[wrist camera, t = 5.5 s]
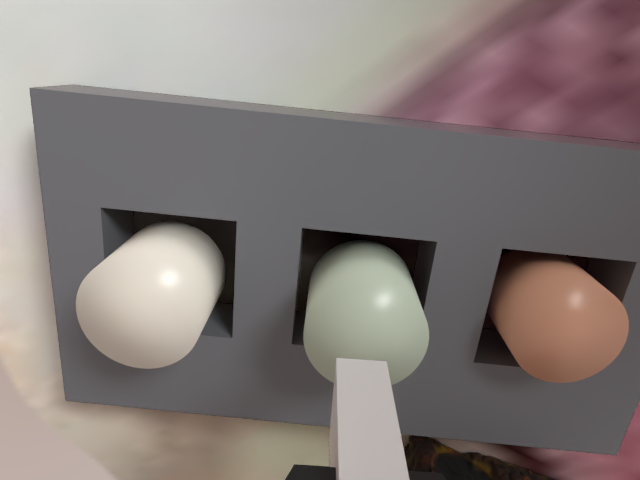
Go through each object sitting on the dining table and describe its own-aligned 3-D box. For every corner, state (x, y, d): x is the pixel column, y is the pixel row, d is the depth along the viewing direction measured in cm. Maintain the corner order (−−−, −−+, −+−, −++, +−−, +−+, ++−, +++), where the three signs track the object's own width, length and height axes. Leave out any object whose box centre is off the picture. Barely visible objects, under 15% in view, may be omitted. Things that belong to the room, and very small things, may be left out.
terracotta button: (493, 240, 21) (527, 278, 17) (590, 250, 21) (645, 290, 17) (472, 325, 23) (499, 377, 19) (563, 334, 23) (608, 388, 19)
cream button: (121, 215, 19) (70, 251, 16) (227, 226, 19) (201, 264, 16) (126, 309, 21) (81, 362, 17) (224, 319, 21) (200, 374, 17)
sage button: (313, 235, 19) (309, 275, 16) (419, 245, 19) (439, 288, 16) (305, 327, 21) (298, 384, 17) (402, 336, 21) (417, 396, 17)
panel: (73, 84, 20) (29, 87, 17) (681, 147, 20) (738, 160, 17) (96, 362, 25) (65, 400, 22) (584, 411, 25) (616, 455, 22)
